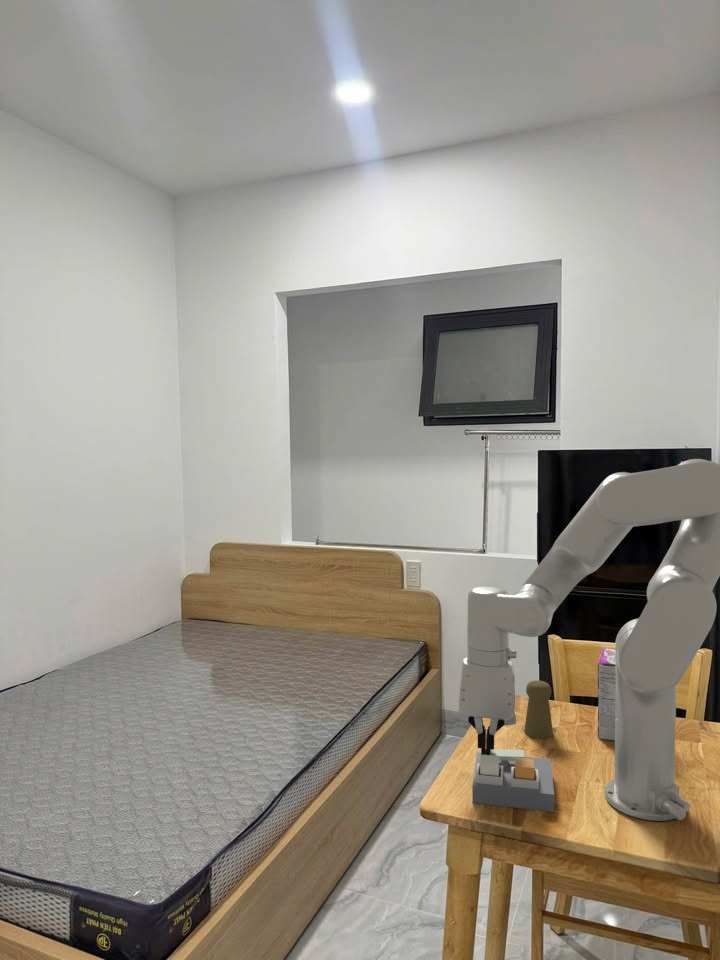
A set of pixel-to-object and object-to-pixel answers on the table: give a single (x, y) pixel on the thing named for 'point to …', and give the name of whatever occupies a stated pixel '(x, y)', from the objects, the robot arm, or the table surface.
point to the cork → (538, 711)
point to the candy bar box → (606, 694)
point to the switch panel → (515, 786)
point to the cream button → (489, 765)
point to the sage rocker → (507, 754)
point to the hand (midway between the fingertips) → (485, 752)
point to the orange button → (524, 768)
